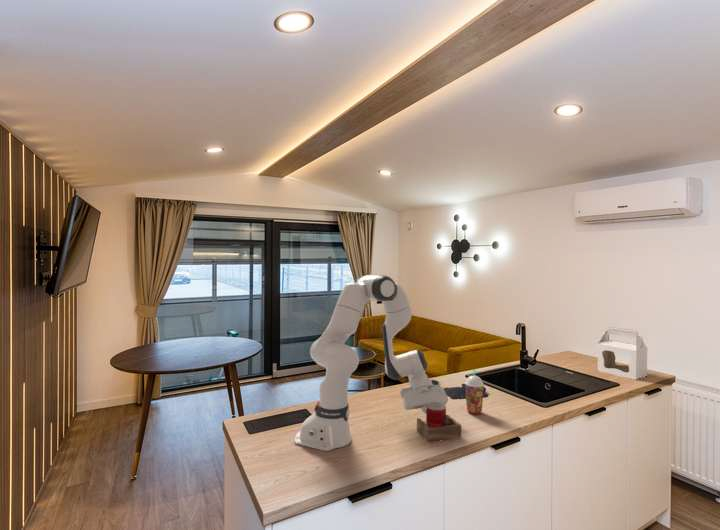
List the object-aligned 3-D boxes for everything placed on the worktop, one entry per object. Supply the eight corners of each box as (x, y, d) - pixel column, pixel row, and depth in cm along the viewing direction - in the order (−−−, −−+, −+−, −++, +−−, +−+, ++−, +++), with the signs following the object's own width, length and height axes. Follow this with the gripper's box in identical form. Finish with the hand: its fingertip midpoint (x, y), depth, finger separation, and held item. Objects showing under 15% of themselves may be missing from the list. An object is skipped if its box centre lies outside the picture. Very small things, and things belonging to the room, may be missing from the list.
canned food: (446, 436, 155) (446, 409, 154) (425, 434, 156) (426, 407, 156) (445, 428, 162) (445, 402, 162) (426, 426, 164) (426, 401, 163)
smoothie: (461, 410, 181) (461, 368, 180) (475, 408, 184) (476, 366, 183) (472, 417, 173) (472, 373, 172) (487, 414, 176) (487, 371, 175)
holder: (416, 430, 160) (416, 418, 160) (447, 426, 164) (447, 414, 164) (428, 442, 149) (428, 430, 149) (461, 437, 154) (461, 425, 154)
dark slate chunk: (439, 391, 208) (439, 382, 208) (476, 387, 213) (476, 379, 213) (452, 401, 194) (452, 392, 193) (491, 397, 198) (491, 388, 198)
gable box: (597, 370, 243) (597, 327, 243) (608, 367, 250) (608, 325, 249) (636, 380, 224) (637, 332, 224) (647, 376, 231) (648, 330, 230)
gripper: (401, 385, 167) (410, 416, 158) (443, 380, 173) (454, 410, 164) (397, 392, 172) (406, 422, 162) (438, 387, 178) (448, 416, 168)
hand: (430, 416), depth 163 cm, fingers closed, pressing on canned food
